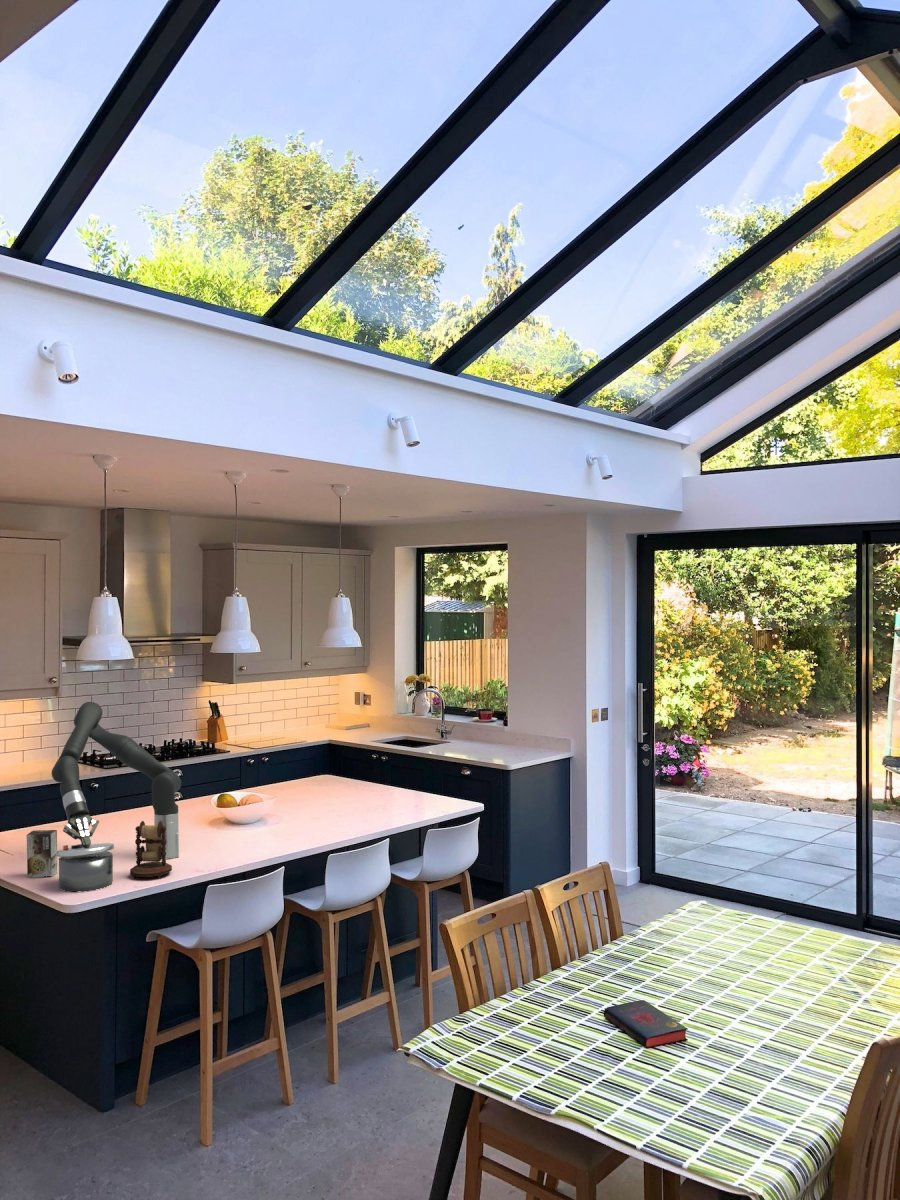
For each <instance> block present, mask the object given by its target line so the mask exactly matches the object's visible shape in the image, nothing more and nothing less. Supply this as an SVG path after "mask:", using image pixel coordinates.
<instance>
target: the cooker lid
mask: <svg viewBox="0 0 900 1200" xmlns="http://www.w3.org/2000/svg"><path fill="white" fill-rule="evenodd" d="M62 848H63V849H59V850H57V858H60V857H69V856H79V855H87V854H94V853H99V852H104V851H112V850H113V849H114V848H115V843H111V842H110V843H109V842H106V843H104V842H103V843H93V844H92V843H91V845H90V847H89V848H84V847H83V846H82V844H81V843H80V844H79V843H78V844H73V845H71V846H70V847H69V845H68V844H65V845H63V846H62Z"/></svg>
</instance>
